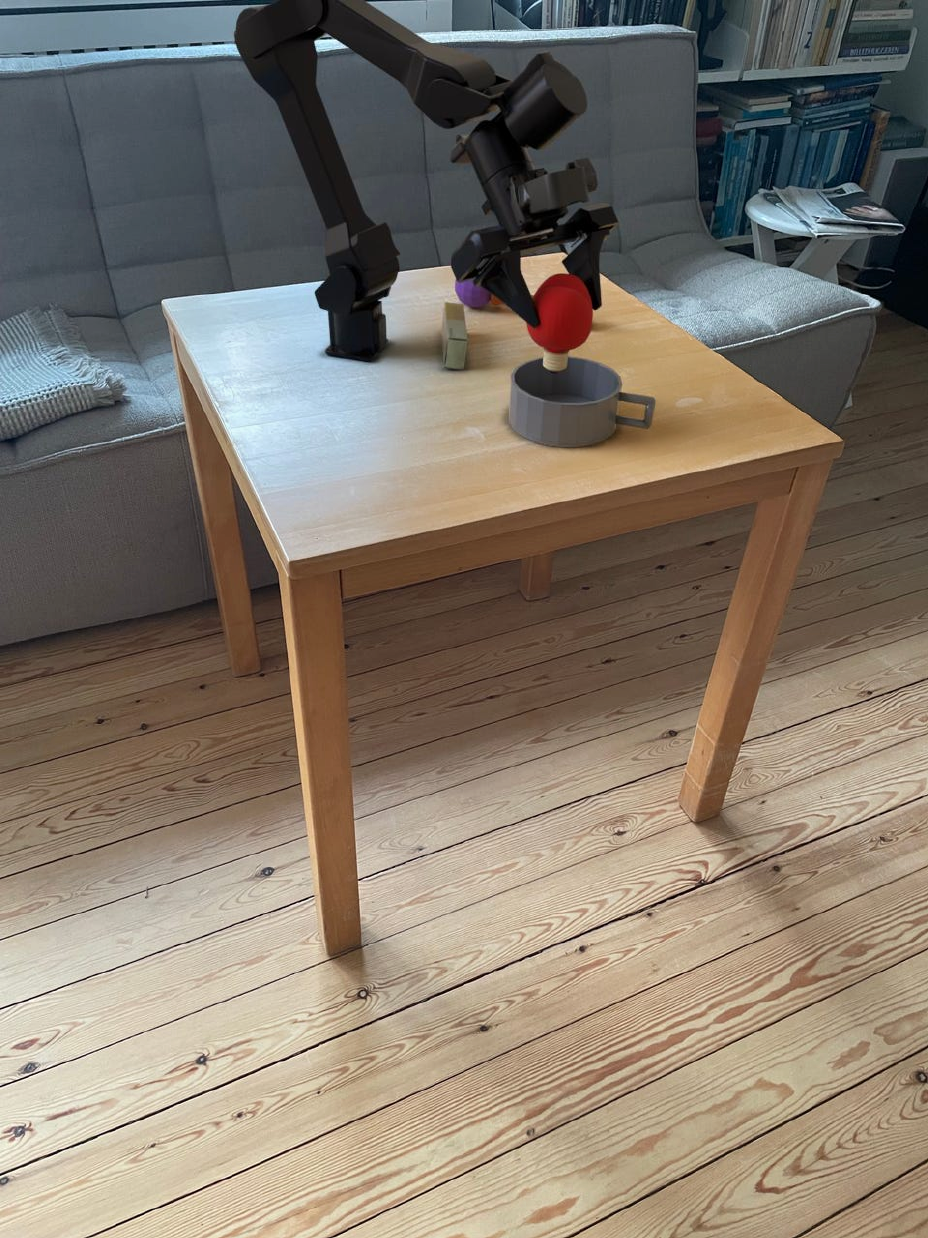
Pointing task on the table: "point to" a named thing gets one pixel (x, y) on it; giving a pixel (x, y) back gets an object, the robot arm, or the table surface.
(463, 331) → the medication box
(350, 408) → the table surface
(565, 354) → the light bulb
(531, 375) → the measuring cup
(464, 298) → the maraca
